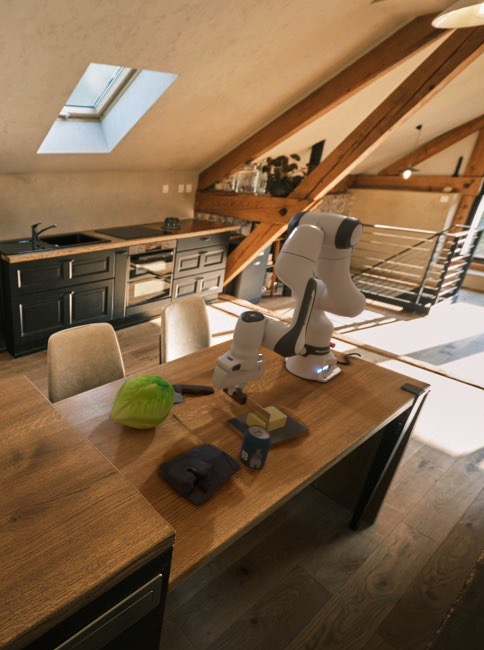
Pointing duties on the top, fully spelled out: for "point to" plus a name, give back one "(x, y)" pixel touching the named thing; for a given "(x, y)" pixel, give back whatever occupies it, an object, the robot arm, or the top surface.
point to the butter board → (275, 433)
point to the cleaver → (190, 390)
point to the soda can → (255, 447)
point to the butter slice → (254, 420)
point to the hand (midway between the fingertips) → (234, 393)
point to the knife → (249, 404)
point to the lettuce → (142, 402)
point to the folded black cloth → (199, 471)
